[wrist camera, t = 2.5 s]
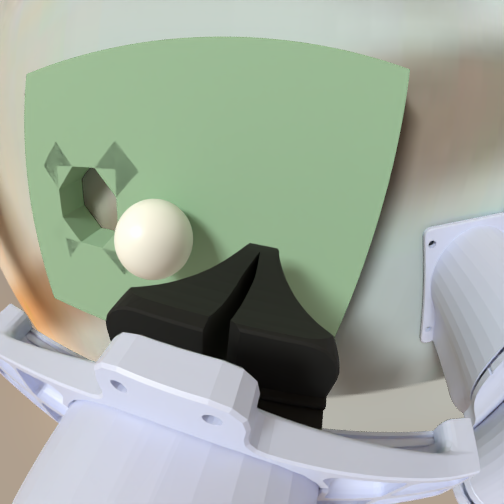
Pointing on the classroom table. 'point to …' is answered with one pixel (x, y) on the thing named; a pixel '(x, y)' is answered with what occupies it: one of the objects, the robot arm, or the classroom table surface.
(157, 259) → the ball
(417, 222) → the classroom table surface
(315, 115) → the putting mat
